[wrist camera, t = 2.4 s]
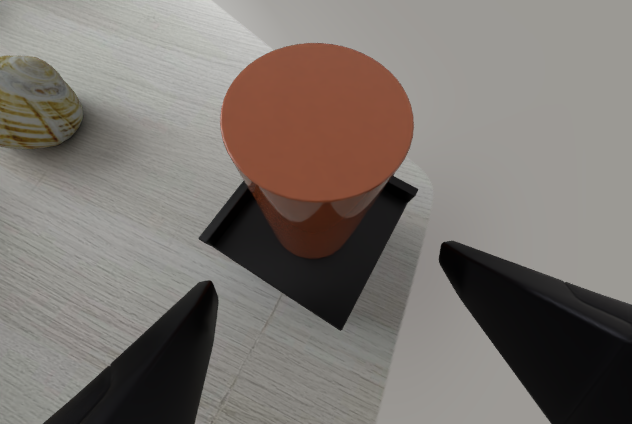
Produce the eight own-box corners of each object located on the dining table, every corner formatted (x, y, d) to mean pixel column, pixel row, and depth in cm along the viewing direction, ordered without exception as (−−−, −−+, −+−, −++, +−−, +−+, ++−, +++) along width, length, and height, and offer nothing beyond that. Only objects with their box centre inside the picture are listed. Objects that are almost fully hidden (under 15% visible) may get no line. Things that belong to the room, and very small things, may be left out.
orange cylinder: (367, 206, 17) (443, 89, 7) (327, 275, 15) (357, 243, 6) (300, 168, 17) (290, 18, 8) (256, 231, 16) (176, 137, 6)
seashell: (-29, 101, 26) (-115, -10, 18) (92, 109, 31) (63, 26, 24) (-39, 178, 23) (-149, 81, 15) (98, 172, 28) (68, 98, 20)
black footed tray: (382, 223, 24) (418, 189, 16) (331, 319, 21) (344, 334, 13) (296, 174, 25) (290, 121, 17) (236, 257, 22) (197, 238, 14)
